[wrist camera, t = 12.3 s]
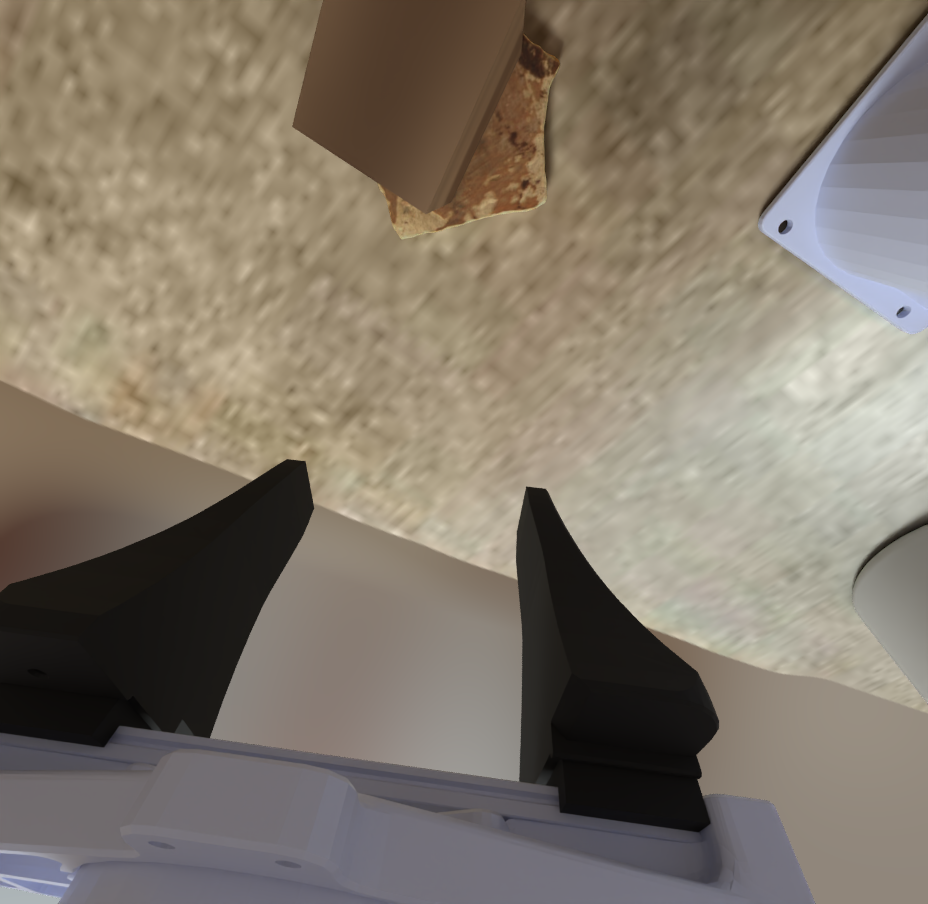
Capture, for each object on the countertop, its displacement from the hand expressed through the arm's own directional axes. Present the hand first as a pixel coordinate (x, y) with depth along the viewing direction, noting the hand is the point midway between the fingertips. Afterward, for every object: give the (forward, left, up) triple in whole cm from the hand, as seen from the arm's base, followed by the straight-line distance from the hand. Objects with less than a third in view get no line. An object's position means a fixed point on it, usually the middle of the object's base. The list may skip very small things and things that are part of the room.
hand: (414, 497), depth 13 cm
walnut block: (+5, -10, -9) cm, 14 cm away
